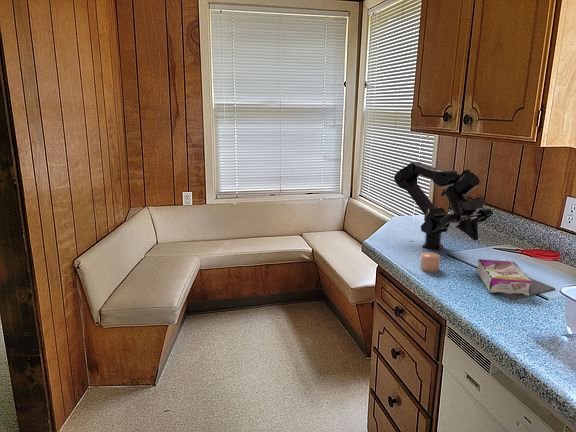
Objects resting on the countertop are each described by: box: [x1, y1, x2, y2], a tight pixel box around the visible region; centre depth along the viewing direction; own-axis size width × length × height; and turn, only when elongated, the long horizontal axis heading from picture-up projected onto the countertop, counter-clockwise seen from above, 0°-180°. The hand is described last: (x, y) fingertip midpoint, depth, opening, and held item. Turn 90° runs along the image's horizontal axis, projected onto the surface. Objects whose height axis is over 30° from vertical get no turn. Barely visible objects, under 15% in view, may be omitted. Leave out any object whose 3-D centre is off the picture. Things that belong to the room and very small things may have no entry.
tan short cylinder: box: [420, 251, 441, 273], centre depth 142 cm, size 6×6×5 cm
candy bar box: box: [476, 258, 532, 297], centre depth 129 cm, size 11×5×16 cm
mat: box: [483, 276, 556, 301], centre depth 127 cm, size 10×18×1 cm, turn 113°
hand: (476, 240), depth 143 cm, fingers closed
